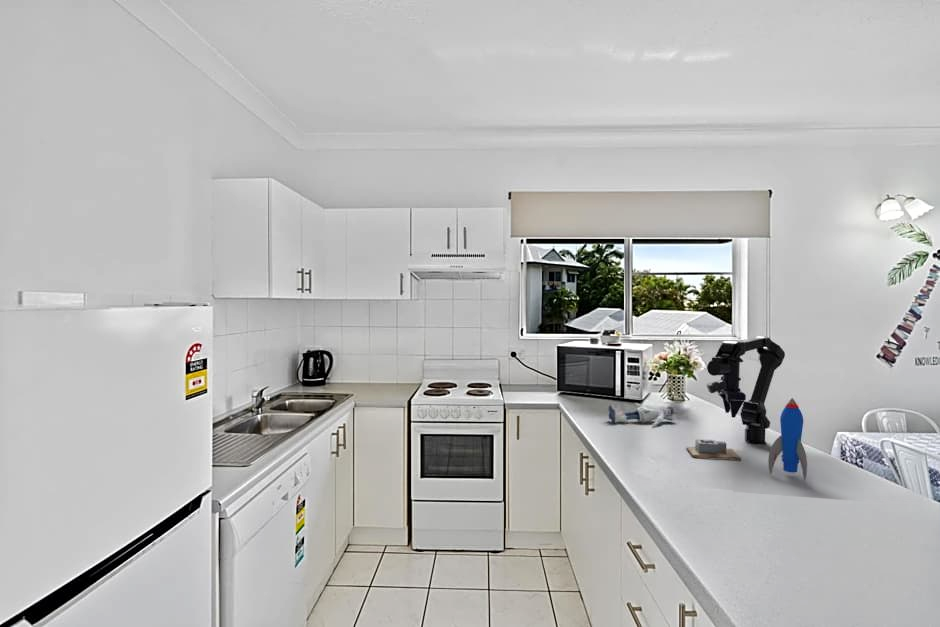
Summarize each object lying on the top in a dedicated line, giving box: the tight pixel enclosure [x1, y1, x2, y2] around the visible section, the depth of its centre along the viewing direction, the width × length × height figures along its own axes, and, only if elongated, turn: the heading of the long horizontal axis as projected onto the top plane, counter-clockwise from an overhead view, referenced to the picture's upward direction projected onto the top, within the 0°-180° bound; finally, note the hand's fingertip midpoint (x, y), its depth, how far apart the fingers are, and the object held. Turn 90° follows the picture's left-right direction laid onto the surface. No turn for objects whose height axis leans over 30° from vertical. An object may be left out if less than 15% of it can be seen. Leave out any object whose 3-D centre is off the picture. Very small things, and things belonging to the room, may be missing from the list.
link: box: [694, 438, 727, 454], centre depth 211 cm, size 10×7×4 cm
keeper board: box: [685, 439, 742, 461], centre depth 210 cm, size 16×12×5 cm
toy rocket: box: [767, 397, 808, 482], centre depth 185 cm, size 11×10×25 cm
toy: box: [608, 402, 678, 428], centre depth 264 cm, size 23×8×30 cm
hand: (730, 415), depth 222 cm, fingers open, 9 cm apart
